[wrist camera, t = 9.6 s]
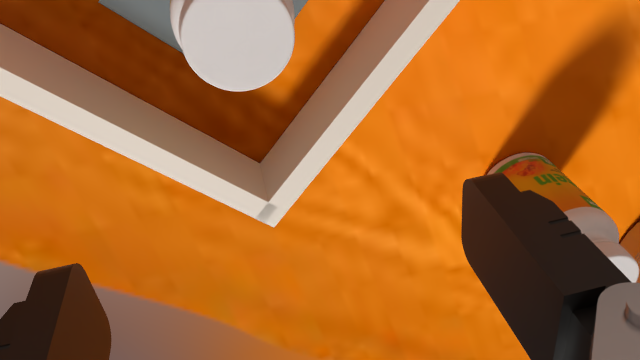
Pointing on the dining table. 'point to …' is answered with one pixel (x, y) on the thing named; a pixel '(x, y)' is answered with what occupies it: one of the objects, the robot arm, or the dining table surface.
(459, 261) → the dining table surface
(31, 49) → the corner arena
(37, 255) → the dining table surface
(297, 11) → the pad
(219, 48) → the supplement bottle
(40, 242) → the dining table surface
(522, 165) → the supplement bottle
